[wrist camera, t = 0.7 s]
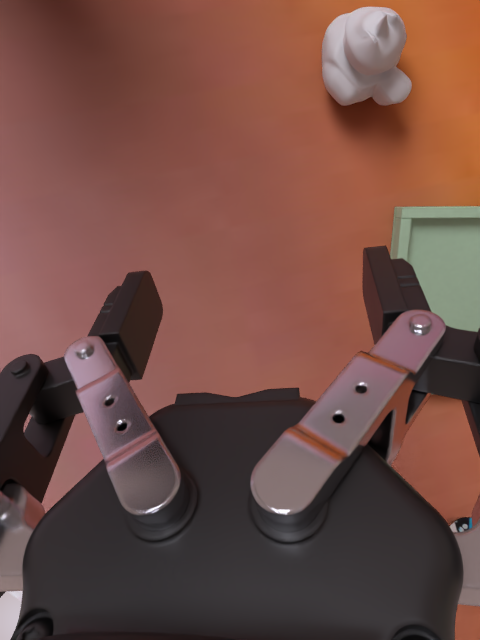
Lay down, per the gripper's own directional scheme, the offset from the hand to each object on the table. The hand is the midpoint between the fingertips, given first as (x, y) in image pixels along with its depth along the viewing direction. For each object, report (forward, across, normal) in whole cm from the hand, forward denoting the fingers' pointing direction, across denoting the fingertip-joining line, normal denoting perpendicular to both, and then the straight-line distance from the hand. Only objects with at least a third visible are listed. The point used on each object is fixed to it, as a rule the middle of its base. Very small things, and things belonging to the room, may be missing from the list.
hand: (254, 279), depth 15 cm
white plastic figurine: (+21, -6, -2) cm, 22 cm away
